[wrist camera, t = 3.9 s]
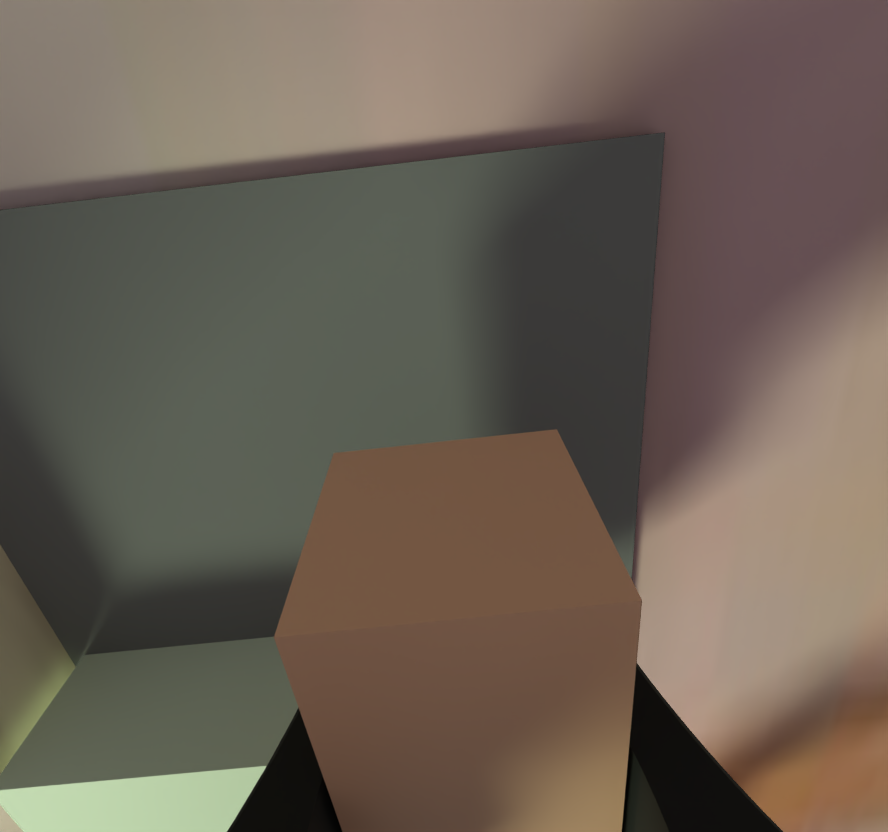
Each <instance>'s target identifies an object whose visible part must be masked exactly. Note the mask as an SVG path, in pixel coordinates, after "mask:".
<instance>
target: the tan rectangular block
mask: <svg viewBox="0 0 888 832" xmlns="http://www.w3.org/2000/svg"><path fill="white" fill-rule="evenodd" d="M641 606H642V600H641V598H640V596H639V594H638V592H637V590H636V588H635V585H634V583H633V581H632V579H631V577H630V575H629V573H628V571H627V569H626V567H625V565H624V563H623V561H622V559H621V557H620V555H619V553H618V551H617V549H616V547H615V545H614V543H613V541H612V539H611V537H610V535H609V533H608V531H607V529H606V527H605V525H604V523H603V521H602V519H601V517H600V515H599V513H598V511H597V509H596V507H595V505H594V503H593V501H592V499H591V497H590V495H589V493H588V491H587V489H586V487H585V485H584V483H583V481H582V479H581V477H580V475H579V473H578V471H577V469H576V467H575V465H574V463H573V461H572V459H571V457H570V455H569V453H568V451H567V449H566V447H565V445H564V443H563V441H562V439H561V437H560V435H559V433H558V431H557V429H555V430H545V431H536V432H526V433H517V434H508V435H498V436H489V437H480V438H470V439H461V440H451V441H442V442H433V443H423V444H414V445H405V446H395V447H386V448H376V449H367V450H358V451H348V452H339V453H334V454H333V457H332V460H331V463H330V466H329V469H328V472H327V475H326V478H325V481H324V484H323V487H322V491H321V494H320V497H319V500H318V503H317V506H316V509H315V512H314V515H313V518H312V521H311V524H310V528H309V531H308V534H307V537H306V540H305V543H304V546H303V549H302V552H301V555H300V558H299V561H298V565H297V568H296V571H295V574H294V577H293V580H292V583H291V586H290V589H289V592H288V595H287V598H286V601H285V605H284V608H283V611H282V614H281V617H280V620H279V623H278V626H277V629H276V632H275V635H274V639H275V642H276V645H277V648H278V651H279V654H280V656H281V659H282V662H283V665H284V668H285V671H286V673H287V676H288V679H289V682H290V685H291V688H292V690H293V693H294V696H295V699H296V702H297V705H298V707H299V710H300V713H301V716H302V719H303V721H304V724H305V727H306V730H307V733H308V736H309V738H310V741H311V744H312V747H313V750H314V753H315V755H316V758H317V761H318V764H319V767H320V770H321V772H322V775H323V778H324V781H325V784H326V787H327V789H328V792H329V795H330V798H331V801H332V804H333V806H334V809H335V812H336V815H337V818H338V820H339V823H340V826H341V829H342V832H622V822H623V811H624V799H625V788H626V777H627V765H628V754H629V743H630V731H631V720H632V708H633V697H634V686H635V674H636V663H637V652H638V640H639V629H640V618H641Z"/></svg>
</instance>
